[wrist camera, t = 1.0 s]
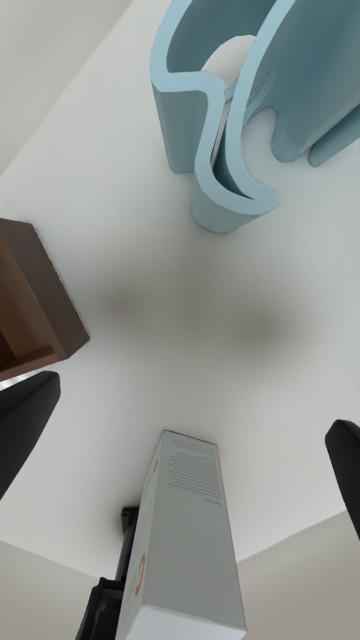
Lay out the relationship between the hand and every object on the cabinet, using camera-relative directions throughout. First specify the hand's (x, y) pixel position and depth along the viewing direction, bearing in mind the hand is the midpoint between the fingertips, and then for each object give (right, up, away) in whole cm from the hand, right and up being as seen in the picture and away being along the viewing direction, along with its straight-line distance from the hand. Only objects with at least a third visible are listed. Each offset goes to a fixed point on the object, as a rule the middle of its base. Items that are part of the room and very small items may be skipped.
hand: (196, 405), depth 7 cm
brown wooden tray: (-15, +5, +14) cm, 21 cm away
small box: (-1, -13, +19) cm, 23 cm away
